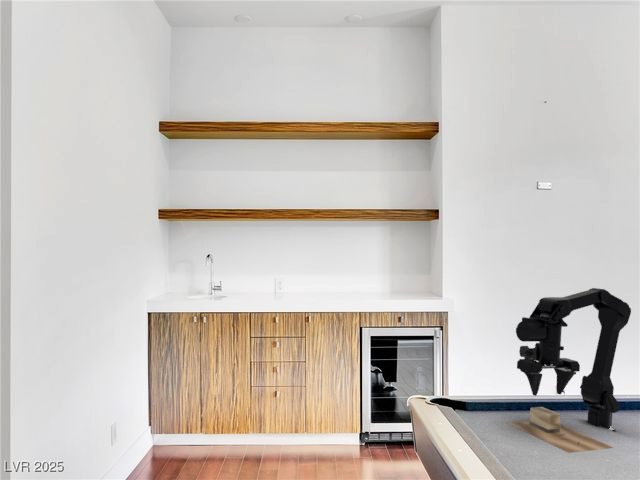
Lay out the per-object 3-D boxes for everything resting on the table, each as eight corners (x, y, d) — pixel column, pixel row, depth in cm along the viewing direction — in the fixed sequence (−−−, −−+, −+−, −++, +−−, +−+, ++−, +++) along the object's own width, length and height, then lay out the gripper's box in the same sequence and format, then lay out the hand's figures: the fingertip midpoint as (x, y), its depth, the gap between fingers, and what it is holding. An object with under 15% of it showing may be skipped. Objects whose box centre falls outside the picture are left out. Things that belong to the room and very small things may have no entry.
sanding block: (541, 423, 152) (542, 406, 152) (559, 432, 145) (560, 414, 145) (529, 424, 150) (530, 407, 150) (547, 433, 143) (548, 415, 144)
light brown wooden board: (549, 423, 156) (549, 419, 156) (613, 452, 135) (613, 447, 135) (507, 426, 150) (508, 422, 150) (568, 457, 130) (568, 452, 130)
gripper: (552, 336, 159) (549, 385, 159) (505, 336, 152) (502, 388, 152) (582, 343, 149) (579, 396, 148) (533, 343, 142) (529, 399, 142)
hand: (546, 394), depth 148 cm, fingers open, 9 cm apart
